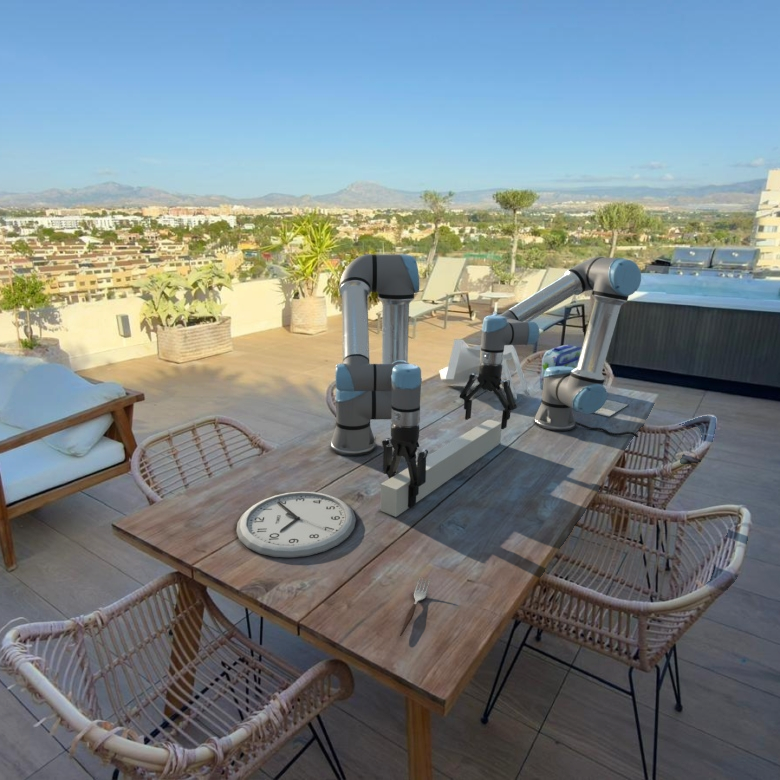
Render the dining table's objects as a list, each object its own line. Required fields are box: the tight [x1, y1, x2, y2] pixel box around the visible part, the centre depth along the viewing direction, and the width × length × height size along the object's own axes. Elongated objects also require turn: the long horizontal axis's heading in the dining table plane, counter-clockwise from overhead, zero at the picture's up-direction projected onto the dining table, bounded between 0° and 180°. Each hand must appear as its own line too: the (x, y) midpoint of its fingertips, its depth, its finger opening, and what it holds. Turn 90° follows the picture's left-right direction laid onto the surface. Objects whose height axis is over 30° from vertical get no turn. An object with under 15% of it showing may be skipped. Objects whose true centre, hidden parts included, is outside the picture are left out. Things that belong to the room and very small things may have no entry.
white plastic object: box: [438, 310, 531, 400], centre depth 245 cm, size 37×45×31 cm
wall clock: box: [236, 491, 357, 558], centre depth 134 cm, size 30×2×30 cm
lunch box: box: [539, 344, 582, 391], centre depth 246 cm, size 26×11×21 cm, turn 135°
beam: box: [380, 418, 502, 518], centre depth 162 cm, size 63×5×8 cm, turn 143°
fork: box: [399, 577, 431, 637], centre depth 104 cm, size 3×16×2 cm, turn 160°
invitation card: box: [593, 399, 629, 418], centre depth 226 cm, size 21×1×15 cm
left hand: (403, 501), depth 144 cm, fingers closed on beam, 5 cm apart
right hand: (485, 423), depth 179 cm, fingers open, 13 cm apart
